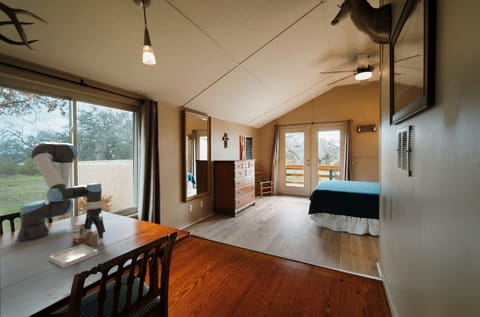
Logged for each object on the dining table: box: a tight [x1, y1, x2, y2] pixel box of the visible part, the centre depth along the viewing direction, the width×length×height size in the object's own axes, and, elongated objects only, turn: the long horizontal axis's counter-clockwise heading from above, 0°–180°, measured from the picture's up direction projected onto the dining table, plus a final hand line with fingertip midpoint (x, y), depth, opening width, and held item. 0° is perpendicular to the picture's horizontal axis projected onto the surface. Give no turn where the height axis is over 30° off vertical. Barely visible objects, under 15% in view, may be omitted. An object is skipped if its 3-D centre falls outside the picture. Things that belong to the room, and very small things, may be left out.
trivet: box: [48, 243, 99, 269], centre depth 110 cm, size 16×16×2 cm
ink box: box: [72, 219, 92, 244], centre depth 131 cm, size 9×5×12 cm, turn 168°
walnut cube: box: [84, 229, 102, 248], centre depth 126 cm, size 7×7×7 cm
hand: (94, 241), depth 126 cm, fingers open, 12 cm apart
